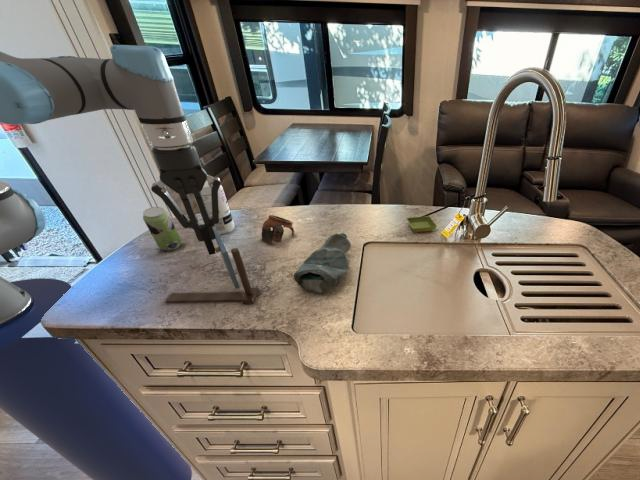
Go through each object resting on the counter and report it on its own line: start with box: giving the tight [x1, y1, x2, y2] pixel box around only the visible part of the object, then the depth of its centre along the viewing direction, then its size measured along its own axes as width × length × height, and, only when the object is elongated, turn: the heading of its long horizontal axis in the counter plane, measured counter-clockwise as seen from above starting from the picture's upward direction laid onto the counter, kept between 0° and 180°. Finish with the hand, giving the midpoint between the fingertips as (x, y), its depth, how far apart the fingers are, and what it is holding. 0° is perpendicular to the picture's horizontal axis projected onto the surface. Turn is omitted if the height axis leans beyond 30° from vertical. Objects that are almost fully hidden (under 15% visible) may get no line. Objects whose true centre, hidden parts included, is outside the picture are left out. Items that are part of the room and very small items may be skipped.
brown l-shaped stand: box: [165, 247, 260, 305], centre depth 72 cm, size 20×5×13 cm, turn 94°
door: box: [214, 229, 241, 290], centre depth 77 cm, size 13×2×10 cm, turn 33°
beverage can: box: [142, 206, 183, 251], centre depth 91 cm, size 6×7×12 cm
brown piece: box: [261, 214, 295, 245], centre depth 99 cm, size 12×10×8 cm
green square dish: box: [406, 215, 438, 233], centre depth 109 cm, size 9×9×2 cm
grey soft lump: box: [293, 233, 352, 294], centre depth 85 cm, size 13×7×25 cm
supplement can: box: [192, 180, 235, 236], centre depth 100 cm, size 8×8×15 cm
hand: (212, 251), depth 77 cm, fingers closed
